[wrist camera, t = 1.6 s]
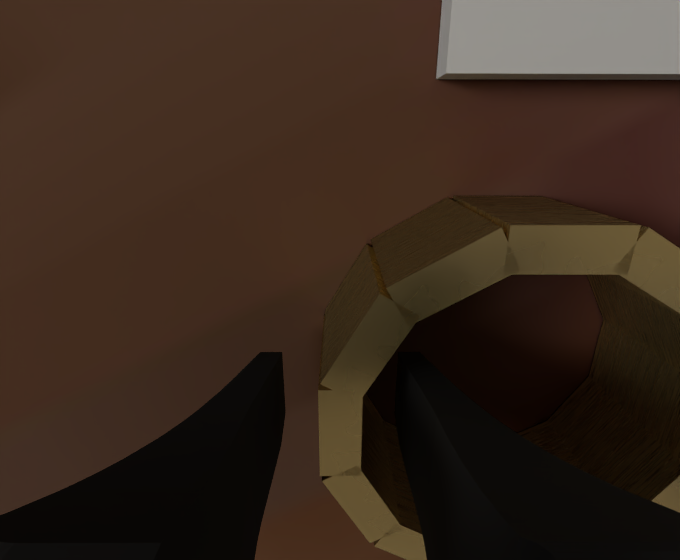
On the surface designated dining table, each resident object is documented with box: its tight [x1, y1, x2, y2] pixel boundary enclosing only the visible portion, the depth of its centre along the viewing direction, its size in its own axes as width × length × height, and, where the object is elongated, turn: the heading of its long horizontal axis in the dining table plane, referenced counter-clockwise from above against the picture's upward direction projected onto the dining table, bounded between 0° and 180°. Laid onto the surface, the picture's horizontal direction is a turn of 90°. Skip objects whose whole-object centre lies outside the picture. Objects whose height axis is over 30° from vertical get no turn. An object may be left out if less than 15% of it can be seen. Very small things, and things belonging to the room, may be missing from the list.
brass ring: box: [318, 196, 680, 560], centre depth 11 cm, size 10×10×4 cm
